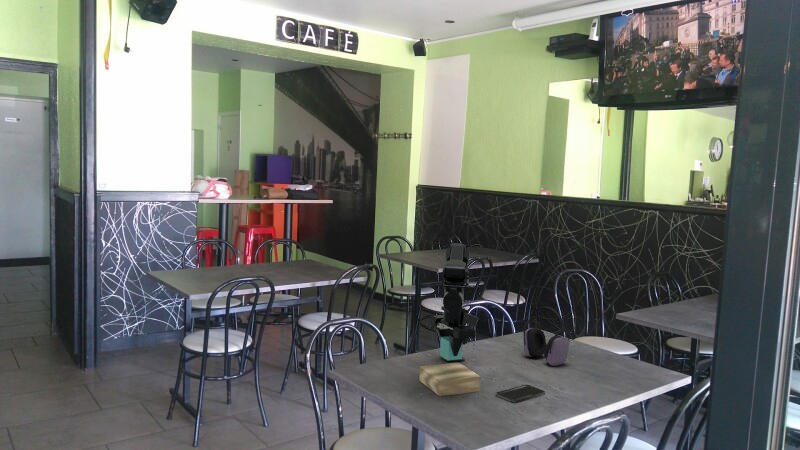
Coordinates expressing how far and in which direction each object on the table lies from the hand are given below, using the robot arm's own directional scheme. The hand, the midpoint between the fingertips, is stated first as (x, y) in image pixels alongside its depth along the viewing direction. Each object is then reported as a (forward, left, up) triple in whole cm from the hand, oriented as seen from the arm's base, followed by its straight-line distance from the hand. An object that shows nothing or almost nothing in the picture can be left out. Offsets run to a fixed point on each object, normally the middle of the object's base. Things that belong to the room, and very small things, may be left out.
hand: (450, 353), depth 181 cm
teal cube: (0, 0, -1) cm, 1 cm away
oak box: (0, 0, -11) cm, 11 cm away
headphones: (-11, +47, -10) cm, 49 cm away
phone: (+14, +17, -11) cm, 25 cm away
